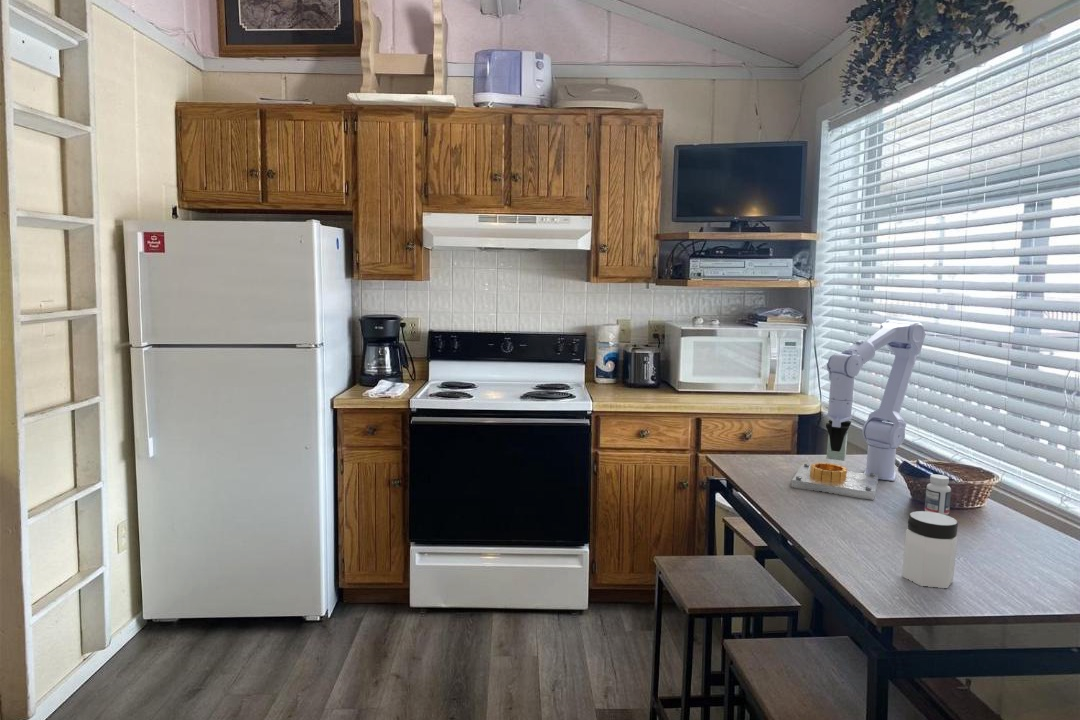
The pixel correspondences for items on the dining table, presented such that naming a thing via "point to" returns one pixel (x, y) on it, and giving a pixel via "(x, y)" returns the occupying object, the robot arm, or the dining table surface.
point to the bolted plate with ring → (835, 480)
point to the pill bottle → (938, 495)
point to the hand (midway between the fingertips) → (836, 448)
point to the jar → (930, 549)
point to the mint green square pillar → (835, 454)
